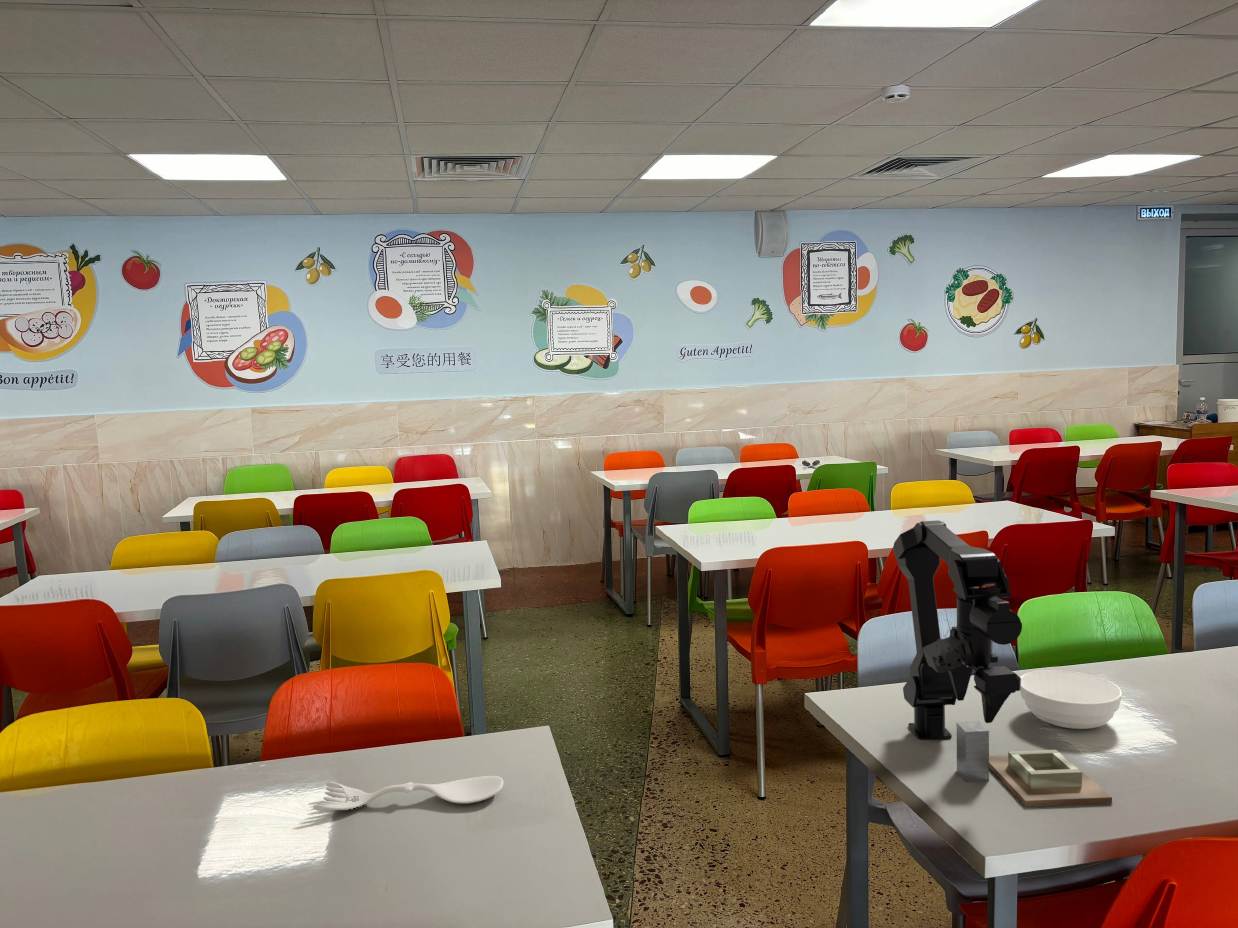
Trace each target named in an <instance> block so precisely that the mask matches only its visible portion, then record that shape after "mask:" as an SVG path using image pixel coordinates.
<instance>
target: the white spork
mask: <svg viewBox="0 0 1238 928" xmlns="http://www.w3.org/2000/svg"><path fill="white" fill-rule="evenodd" d="M503 788H504V779H503V778H502V777H501V776H498V775H481V776H474V777H468V778H463V779H456V780H451V781H447V782H442V783H434V784H433V783H432V784H431V783H430V784H429V783H428V784H427V783H414V782H412V781H409V782H407V783H403V784H394V785H388V786H385V787H382V788H380V789H377V790H376V791H374V792H371V793H369V792H366V791H364V790H361V789H359V788H354V787H349V786H346V785H345V784H341V783H338V782H335V781H328V782H326V788H325V789H326V791H325V792H324V794H325V795H327V796H324V797H322V798H323V800H319V802H318V803H317V804H314V805H313V806H312V807H313V810H315V811H320V812H322V811H323V812H328V811H348V810H349V809H351V810H354V809H353V808H356V807H359V806H361V807H363V806H362V805H364V804H366V805H367V804H368V803H370V802H372V801H374V800H376V799H378V798H379V797H381V796H384V795H386V794H389V793H396V792H397V793H398V792H404V793H405V794H406V793H411V792H413V791H425V792H429V793H430V794H431V793H432V794H433V795H435V796H436V797H438V798H440V799H442V800H444V801H447V802H449V803H453V804H472V803H473V804H475V803H478V802H481V801H485V800H487V799H490V798H491V797H493V796H495V795H496V794H498V793H500V792H501V790H502V789H503ZM353 796H359V797H358V798H359V801H356V802H352V801H349V800H351V799H352V798H353ZM336 797H339V798H336ZM340 797H341V798H340ZM351 797H352V798H351ZM356 798H357V797H356ZM353 799H354V798H353ZM364 806H365V805H364ZM359 808H360V807H359ZM356 809H357V808H356Z"/></svg>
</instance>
